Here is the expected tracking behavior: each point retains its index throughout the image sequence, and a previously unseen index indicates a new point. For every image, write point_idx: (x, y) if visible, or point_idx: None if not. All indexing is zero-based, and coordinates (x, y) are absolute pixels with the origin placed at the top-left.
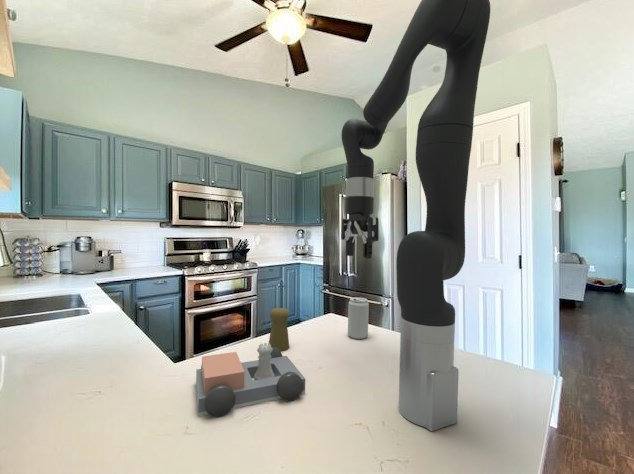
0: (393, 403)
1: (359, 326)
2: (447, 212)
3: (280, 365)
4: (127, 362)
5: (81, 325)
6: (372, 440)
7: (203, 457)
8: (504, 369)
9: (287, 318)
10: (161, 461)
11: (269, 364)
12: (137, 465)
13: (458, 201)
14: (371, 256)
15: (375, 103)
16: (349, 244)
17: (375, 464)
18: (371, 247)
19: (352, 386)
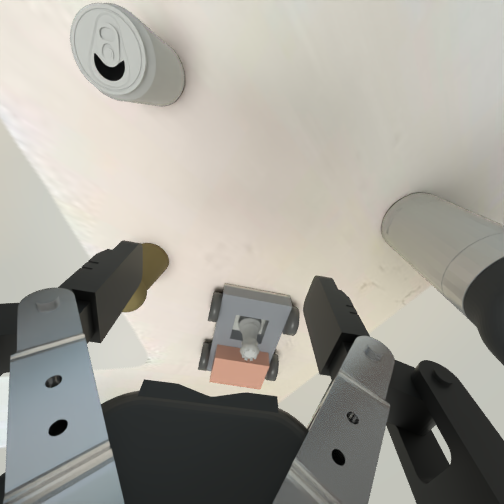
0: (374, 235)
1: (172, 90)
2: None
3: (245, 311)
4: (128, 388)
5: None
6: (385, 291)
7: (307, 372)
8: None
9: (141, 282)
10: (294, 386)
11: (255, 335)
12: (288, 393)
13: None
14: (332, 280)
15: None
16: (106, 315)
17: (400, 305)
18: (362, 331)
19: (315, 246)
